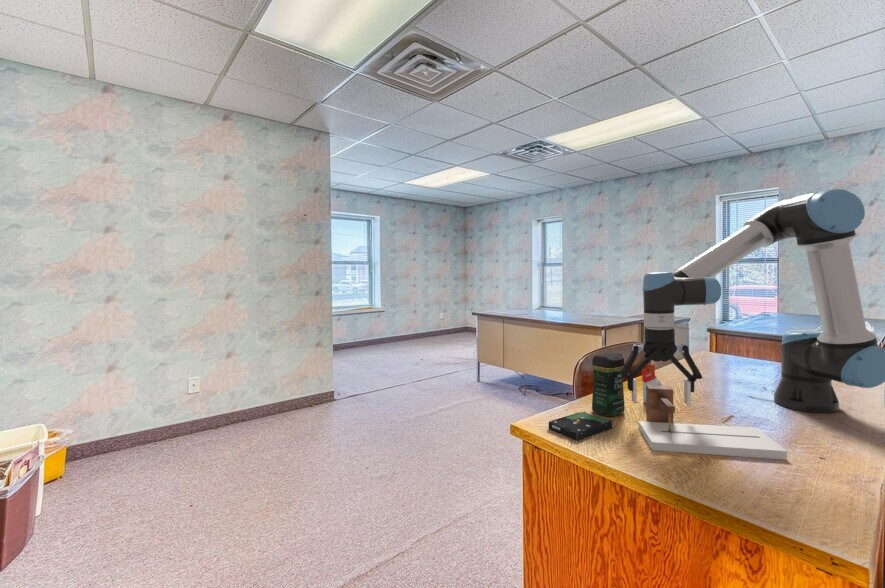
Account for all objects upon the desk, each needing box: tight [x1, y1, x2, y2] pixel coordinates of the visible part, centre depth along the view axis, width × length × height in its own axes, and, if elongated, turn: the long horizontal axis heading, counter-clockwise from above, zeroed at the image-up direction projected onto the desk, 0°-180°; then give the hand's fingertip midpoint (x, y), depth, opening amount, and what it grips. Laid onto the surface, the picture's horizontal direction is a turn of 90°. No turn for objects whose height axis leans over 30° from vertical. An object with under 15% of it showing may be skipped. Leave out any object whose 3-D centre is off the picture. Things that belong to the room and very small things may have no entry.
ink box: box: [641, 364, 663, 404], centre depth 134 cm, size 3×9×12 cm, turn 128°
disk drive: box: [548, 411, 613, 442], centre depth 113 cm, size 10×3×15 cm
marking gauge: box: [645, 385, 676, 431], centre depth 109 cm, size 6×14×11 cm, turn 166°
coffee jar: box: [591, 351, 626, 417], centre depth 124 cm, size 10×8×19 cm
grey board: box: [638, 420, 788, 461], centre depth 101 cm, size 28×14×2 cm, turn 76°
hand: (660, 402), depth 112 cm, fingers open, 13 cm apart
